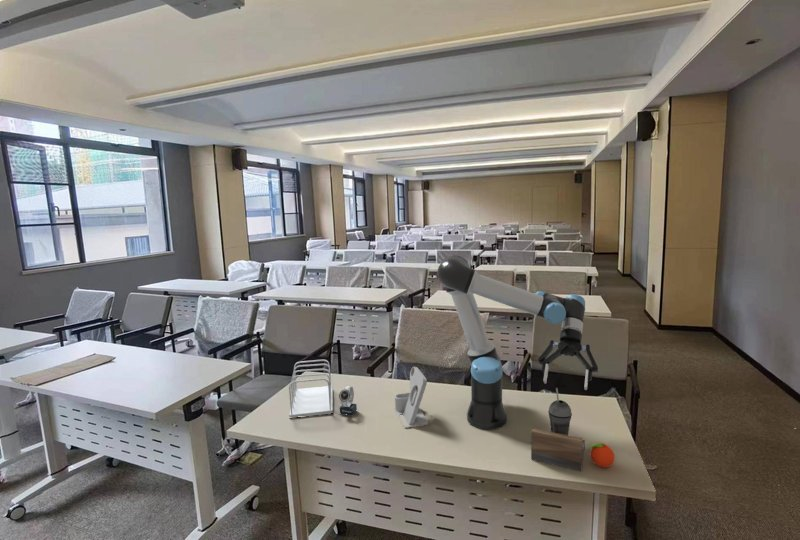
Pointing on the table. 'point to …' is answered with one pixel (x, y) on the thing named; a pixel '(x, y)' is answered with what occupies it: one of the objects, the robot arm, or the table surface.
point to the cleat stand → (557, 449)
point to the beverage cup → (559, 416)
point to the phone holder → (412, 400)
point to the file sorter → (310, 394)
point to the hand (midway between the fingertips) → (564, 385)
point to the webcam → (347, 401)
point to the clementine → (602, 455)
